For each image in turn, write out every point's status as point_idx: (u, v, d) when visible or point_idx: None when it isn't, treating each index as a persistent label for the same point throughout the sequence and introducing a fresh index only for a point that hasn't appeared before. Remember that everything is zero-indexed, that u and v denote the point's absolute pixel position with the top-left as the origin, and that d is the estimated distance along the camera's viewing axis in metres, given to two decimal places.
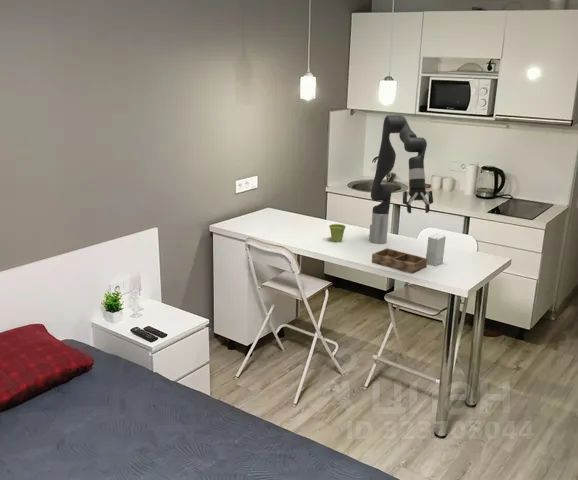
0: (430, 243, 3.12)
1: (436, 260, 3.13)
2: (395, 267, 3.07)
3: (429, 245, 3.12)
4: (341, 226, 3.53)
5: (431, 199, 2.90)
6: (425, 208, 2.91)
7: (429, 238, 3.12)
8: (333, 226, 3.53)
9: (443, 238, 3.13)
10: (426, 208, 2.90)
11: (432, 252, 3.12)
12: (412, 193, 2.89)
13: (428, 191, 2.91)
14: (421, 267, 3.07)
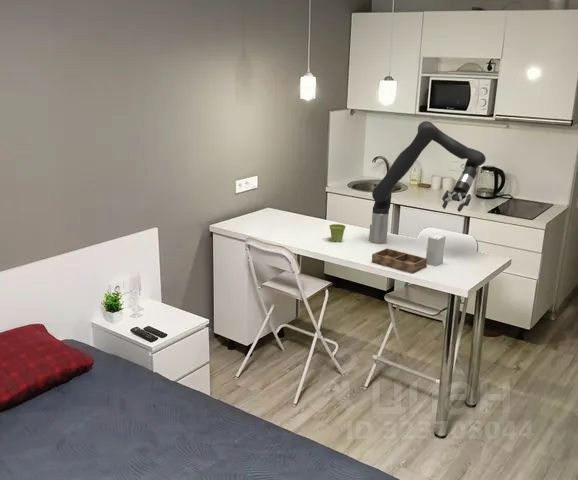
0: (430, 243, 3.12)
1: (436, 260, 3.13)
2: (395, 267, 3.07)
3: (429, 245, 3.12)
4: (341, 226, 3.53)
5: None
6: (445, 203, 3.21)
7: (429, 238, 3.12)
8: (333, 226, 3.53)
9: (443, 238, 3.13)
10: (446, 205, 3.22)
11: (432, 252, 3.12)
12: None
13: None
14: (421, 267, 3.07)
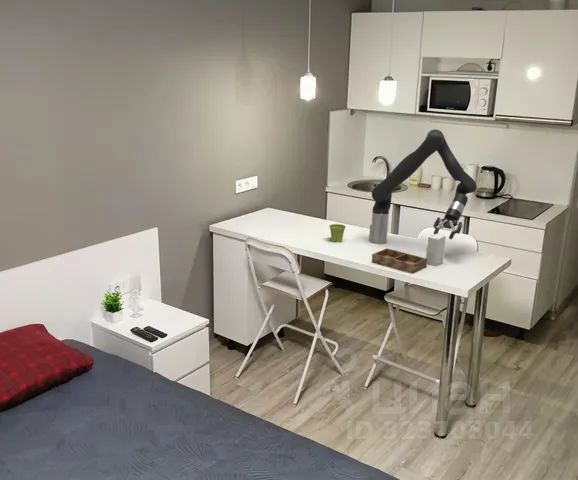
0: (430, 243, 3.12)
1: (436, 260, 3.13)
2: (395, 267, 3.07)
3: (429, 245, 3.12)
4: (341, 226, 3.53)
5: None
6: (436, 231, 3.20)
7: (429, 238, 3.12)
8: (333, 226, 3.53)
9: (443, 238, 3.13)
10: (437, 232, 3.21)
11: (432, 252, 3.12)
12: None
13: None
14: (421, 267, 3.07)
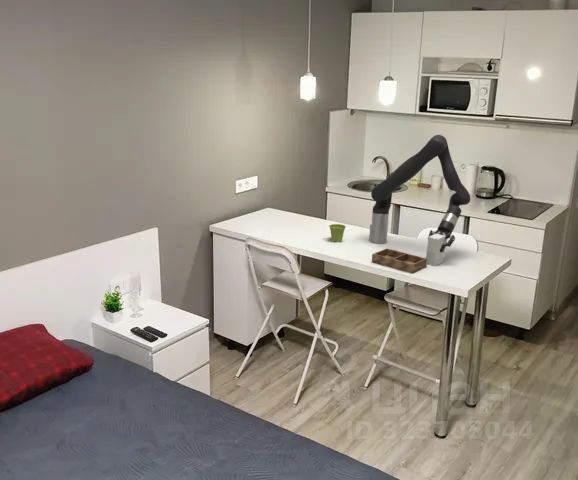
0: (430, 243, 3.12)
1: (436, 260, 3.13)
2: (395, 267, 3.07)
3: (429, 245, 3.12)
4: (341, 226, 3.53)
5: None
6: None
7: (429, 238, 3.12)
8: (333, 226, 3.53)
9: (443, 238, 3.13)
10: None
11: (432, 252, 3.12)
12: None
13: None
14: (421, 267, 3.07)
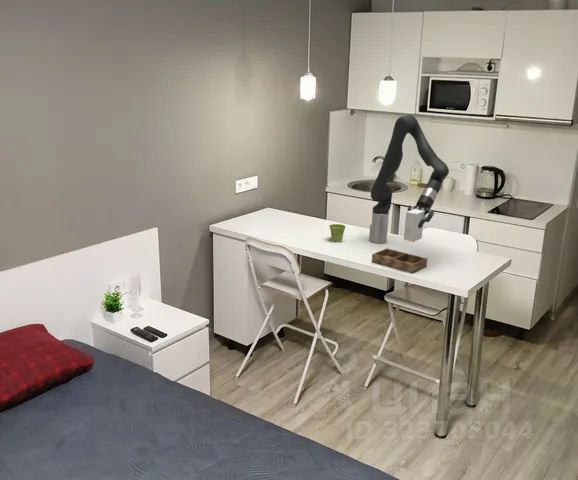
0: (408, 218, 3.01)
1: (415, 236, 3.02)
2: (395, 267, 3.07)
3: (407, 220, 3.02)
4: (341, 226, 3.53)
5: None
6: None
7: (407, 213, 3.01)
8: (333, 226, 3.53)
9: (421, 213, 3.02)
10: None
11: (410, 228, 3.02)
12: None
13: None
14: (421, 267, 3.07)
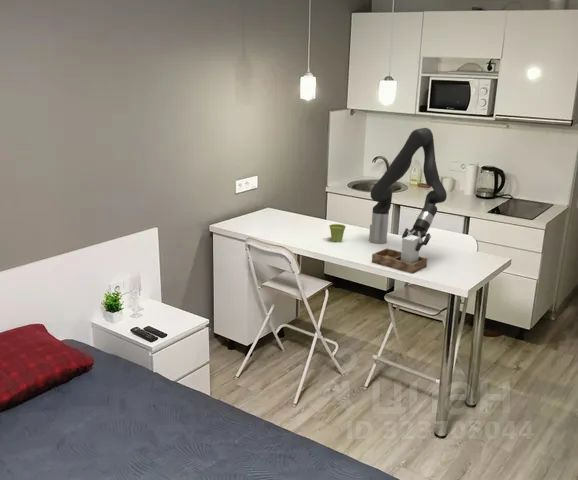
0: (404, 245, 3.05)
1: (411, 262, 3.05)
2: (395, 267, 3.07)
3: (403, 246, 3.05)
4: (341, 226, 3.53)
5: None
6: None
7: (403, 239, 3.04)
8: (333, 226, 3.53)
9: (418, 239, 3.05)
10: None
11: (406, 254, 3.05)
12: None
13: None
14: (421, 267, 3.07)
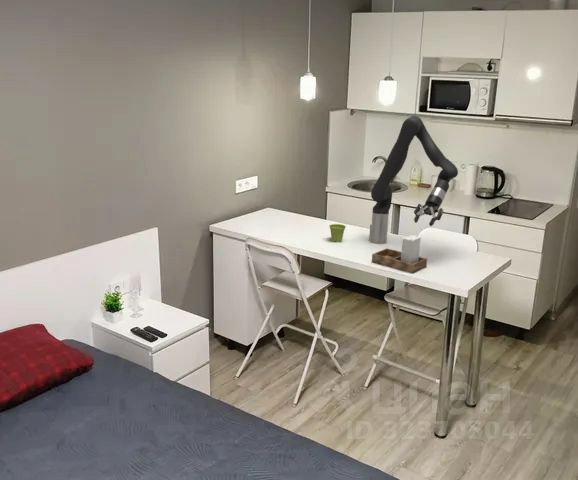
0: (405, 245, 3.04)
1: (411, 262, 3.05)
2: (395, 267, 3.07)
3: (404, 247, 3.05)
4: (341, 226, 3.53)
5: None
6: (417, 217, 3.14)
7: (404, 239, 3.04)
8: (333, 226, 3.53)
9: (418, 239, 3.05)
10: (417, 219, 3.15)
11: (406, 254, 3.05)
12: None
13: None
14: (421, 267, 3.07)
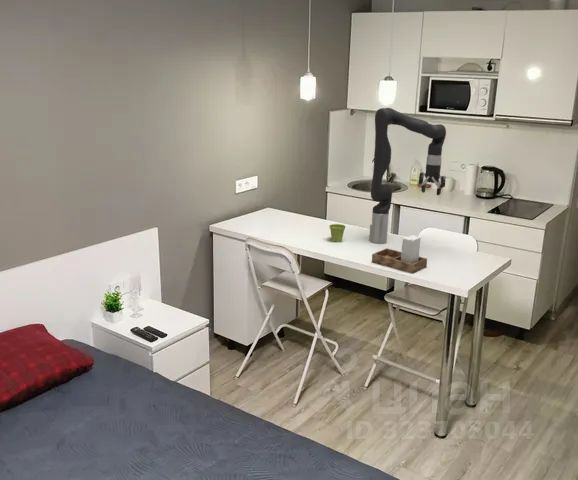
0: (405, 245, 3.04)
1: (411, 262, 3.05)
2: (395, 267, 3.07)
3: (404, 247, 3.05)
4: (341, 226, 3.53)
5: None
6: (423, 188, 3.25)
7: (404, 239, 3.04)
8: (333, 226, 3.53)
9: (418, 239, 3.05)
10: (424, 188, 3.26)
11: (406, 254, 3.05)
12: None
13: (423, 173, 3.25)
14: (421, 267, 3.07)
